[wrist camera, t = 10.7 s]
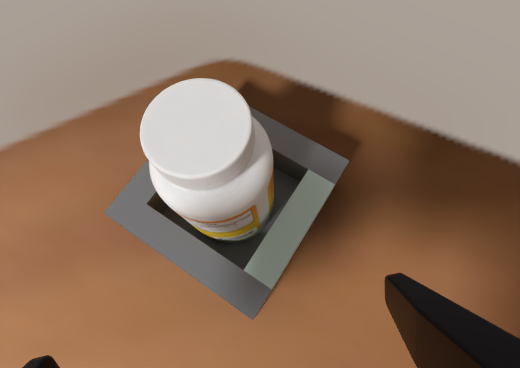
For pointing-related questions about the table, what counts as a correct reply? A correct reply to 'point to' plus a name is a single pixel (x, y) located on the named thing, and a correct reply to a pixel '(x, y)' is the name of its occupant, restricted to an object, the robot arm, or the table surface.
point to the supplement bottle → (210, 159)
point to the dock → (251, 250)
